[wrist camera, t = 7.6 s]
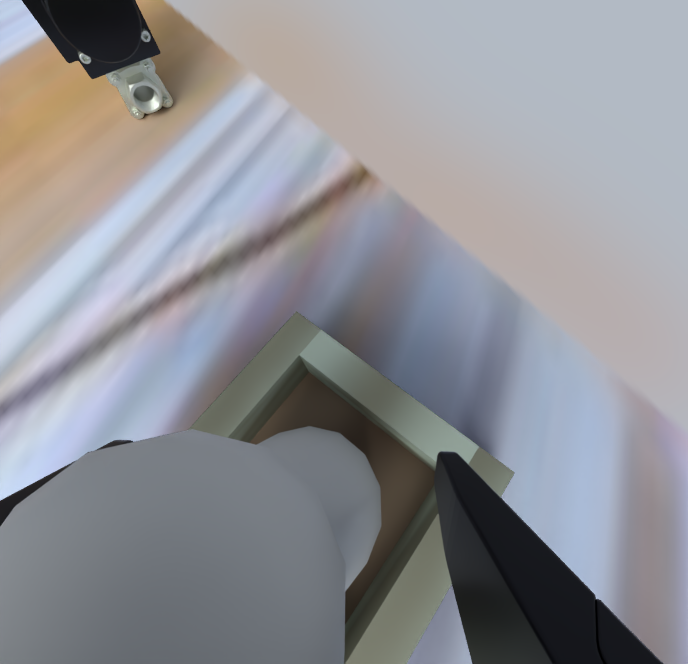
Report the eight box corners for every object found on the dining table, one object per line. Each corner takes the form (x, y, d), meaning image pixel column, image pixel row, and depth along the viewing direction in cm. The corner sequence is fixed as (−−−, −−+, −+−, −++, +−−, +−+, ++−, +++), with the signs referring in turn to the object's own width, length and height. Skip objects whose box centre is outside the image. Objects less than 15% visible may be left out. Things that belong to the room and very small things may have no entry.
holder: (492, 467, 16) (533, 470, 12) (339, 725, 13) (332, 836, 9) (307, 329, 19) (295, 297, 15) (148, 510, 16) (83, 526, 12)
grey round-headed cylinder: (261, 586, 14) (-575, 1613, 2) (246, 446, 16) (-167, 425, 4) (396, 554, 14) (587, 1313, 2) (363, 418, 16) (341, 305, 4)
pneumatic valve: (154, 55, 29) (28, -193, 18) (200, 132, 25) (77, -124, 14) (94, 78, 28) (-77, -168, 17) (133, 161, 25) (-55, -87, 13)
